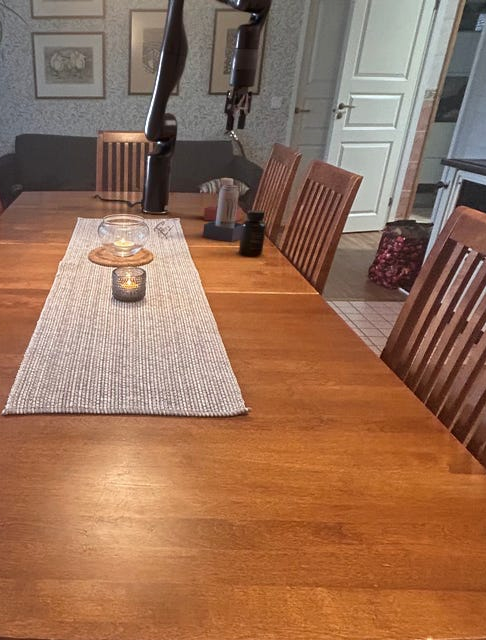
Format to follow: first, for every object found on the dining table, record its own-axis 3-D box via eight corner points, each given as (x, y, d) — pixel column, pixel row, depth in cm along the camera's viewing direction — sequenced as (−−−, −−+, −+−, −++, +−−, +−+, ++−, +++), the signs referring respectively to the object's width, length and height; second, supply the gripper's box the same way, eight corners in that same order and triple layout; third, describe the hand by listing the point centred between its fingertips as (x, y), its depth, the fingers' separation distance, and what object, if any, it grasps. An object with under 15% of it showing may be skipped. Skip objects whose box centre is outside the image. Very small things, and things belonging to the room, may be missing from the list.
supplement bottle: (263, 253, 177) (271, 210, 170) (258, 258, 171) (265, 214, 165) (241, 250, 179) (247, 208, 173) (235, 255, 174) (241, 211, 167)
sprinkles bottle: (230, 218, 220) (236, 178, 213) (223, 219, 218) (228, 179, 210) (220, 216, 223) (225, 177, 216) (213, 217, 220) (218, 178, 213)
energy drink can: (220, 237, 191) (226, 187, 183) (210, 233, 196) (217, 184, 188) (236, 236, 193) (243, 186, 185) (226, 232, 198) (233, 184, 190)
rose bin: (203, 219, 219) (204, 207, 217) (215, 215, 227) (216, 204, 224) (229, 223, 215) (230, 211, 212) (239, 219, 222) (241, 208, 220)
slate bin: (202, 237, 193) (204, 224, 191) (215, 232, 201) (217, 219, 198) (231, 241, 189) (233, 228, 186) (243, 236, 196) (245, 224, 194)
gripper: (241, 68, 182) (233, 128, 191) (222, 66, 172) (214, 129, 181) (264, 69, 179) (254, 130, 188) (246, 67, 169) (236, 131, 177)
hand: (234, 129), depth 184 cm, fingers open, 8 cm apart
